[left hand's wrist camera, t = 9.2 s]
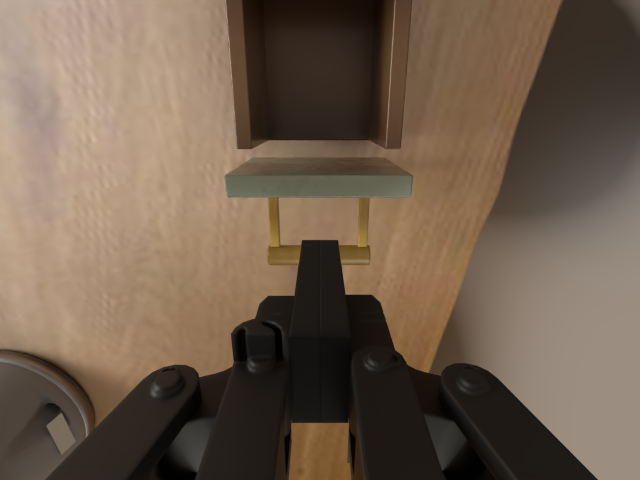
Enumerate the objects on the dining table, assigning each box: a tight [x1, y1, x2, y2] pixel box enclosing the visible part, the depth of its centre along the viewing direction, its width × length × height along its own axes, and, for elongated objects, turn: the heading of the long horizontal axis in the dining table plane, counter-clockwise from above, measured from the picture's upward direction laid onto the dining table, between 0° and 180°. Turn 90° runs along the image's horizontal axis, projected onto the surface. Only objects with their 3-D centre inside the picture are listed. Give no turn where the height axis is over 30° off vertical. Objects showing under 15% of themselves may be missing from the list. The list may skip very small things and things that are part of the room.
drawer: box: [225, 0, 413, 265], centre depth 20 cm, size 24×10×8 cm, turn 0°
